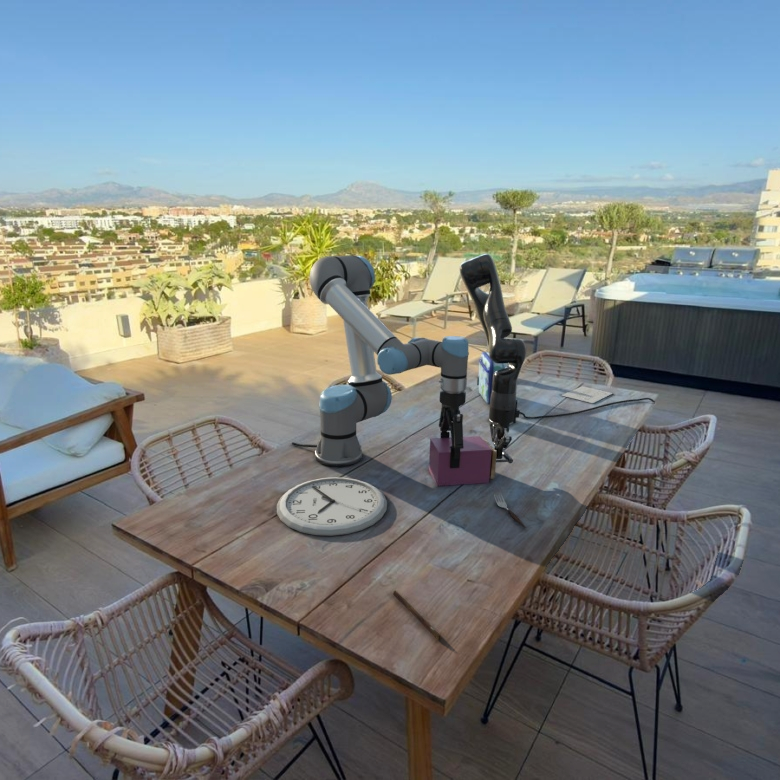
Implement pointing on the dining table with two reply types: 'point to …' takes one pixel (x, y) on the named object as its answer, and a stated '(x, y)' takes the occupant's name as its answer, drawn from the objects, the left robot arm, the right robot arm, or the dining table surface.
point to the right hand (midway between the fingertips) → (497, 458)
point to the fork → (504, 505)
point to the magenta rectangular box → (471, 462)
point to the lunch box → (487, 375)
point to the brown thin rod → (416, 614)
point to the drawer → (494, 461)
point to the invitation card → (587, 394)
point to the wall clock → (331, 506)
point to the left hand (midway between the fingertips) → (449, 459)
